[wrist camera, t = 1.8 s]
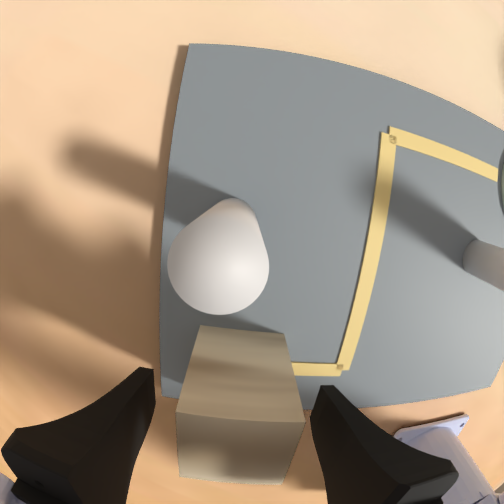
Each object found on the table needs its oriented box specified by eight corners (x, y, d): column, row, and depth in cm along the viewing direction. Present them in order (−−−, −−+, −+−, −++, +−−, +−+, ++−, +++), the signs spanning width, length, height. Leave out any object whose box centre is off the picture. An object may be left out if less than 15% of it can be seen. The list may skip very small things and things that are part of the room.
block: (271, 395, 15) (281, 484, 9) (197, 388, 15) (179, 476, 9) (284, 333, 14) (306, 422, 8) (200, 324, 14) (175, 411, 8)
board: (486, 382, 16) (536, 434, 9) (164, 389, 15) (128, 495, 8) (542, 161, 12) (616, 168, 5) (191, 48, 11) (147, -54, 4)
